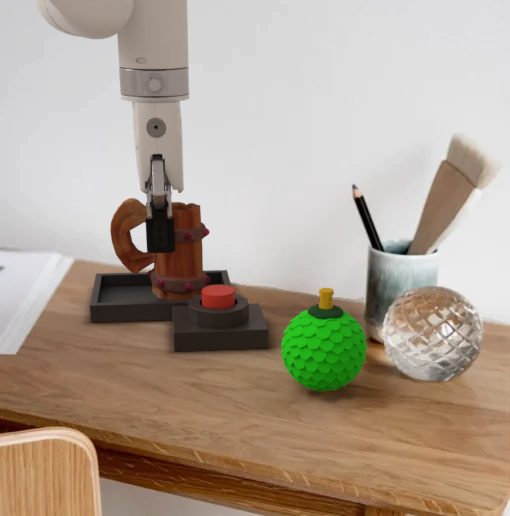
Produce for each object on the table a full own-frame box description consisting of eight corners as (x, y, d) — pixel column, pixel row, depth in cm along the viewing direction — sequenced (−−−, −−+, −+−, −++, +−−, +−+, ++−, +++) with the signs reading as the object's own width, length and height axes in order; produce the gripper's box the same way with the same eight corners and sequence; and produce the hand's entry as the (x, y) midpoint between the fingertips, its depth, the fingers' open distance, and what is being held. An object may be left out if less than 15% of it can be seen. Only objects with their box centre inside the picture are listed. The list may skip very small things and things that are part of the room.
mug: (213, 291, 105) (213, 195, 100) (207, 308, 99) (206, 207, 94) (120, 287, 106) (116, 192, 101) (108, 304, 100) (103, 204, 95)
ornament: (351, 413, 77) (357, 310, 73) (268, 398, 79) (269, 298, 75) (373, 378, 84) (380, 282, 79) (295, 365, 86) (298, 271, 82)
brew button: (202, 311, 90) (202, 296, 89) (201, 299, 93) (200, 284, 92) (236, 310, 90) (236, 294, 90) (233, 298, 94) (233, 283, 93)
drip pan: (90, 322, 96) (89, 305, 96) (96, 289, 107) (95, 273, 106) (235, 317, 98) (235, 301, 97) (227, 285, 109) (227, 269, 108)
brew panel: (174, 351, 89) (173, 316, 87) (172, 323, 96) (171, 290, 95) (268, 348, 90) (268, 313, 88) (259, 321, 97) (259, 288, 96)
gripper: (192, 94, 85) (196, 265, 92) (186, 76, 100) (189, 223, 108) (116, 94, 84) (126, 267, 91) (122, 76, 100) (130, 225, 107)
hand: (160, 242), depth 99 cm, fingers closed on mug, 6 cm apart
